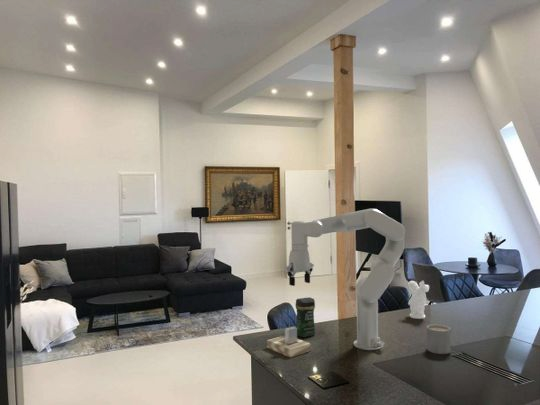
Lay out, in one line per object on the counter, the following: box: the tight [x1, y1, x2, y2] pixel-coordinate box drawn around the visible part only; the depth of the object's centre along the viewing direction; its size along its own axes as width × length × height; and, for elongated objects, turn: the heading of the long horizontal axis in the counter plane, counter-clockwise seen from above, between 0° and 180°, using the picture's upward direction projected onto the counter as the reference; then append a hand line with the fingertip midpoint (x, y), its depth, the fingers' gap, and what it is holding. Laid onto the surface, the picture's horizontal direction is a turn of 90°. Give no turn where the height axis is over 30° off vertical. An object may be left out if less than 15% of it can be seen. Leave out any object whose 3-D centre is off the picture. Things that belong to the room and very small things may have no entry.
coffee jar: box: [295, 297, 316, 338], centre depth 213 cm, size 10×8×19 cm
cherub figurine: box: [407, 280, 430, 320], centre depth 244 cm, size 12×12×22 cm
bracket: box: [284, 326, 298, 346], centre depth 193 cm, size 6×5×10 cm
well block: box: [267, 334, 311, 358], centre depth 193 cm, size 16×12×4 cm
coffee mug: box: [426, 324, 452, 355], centre depth 192 cm, size 13×10×10 cm
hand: (299, 283), depth 200 cm, fingers open, 9 cm apart
